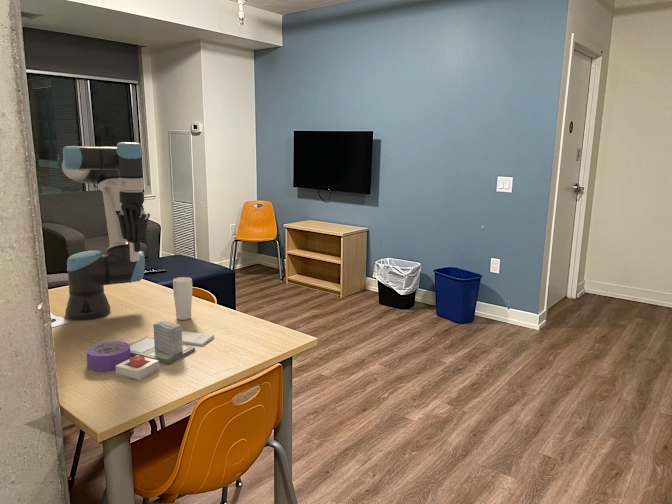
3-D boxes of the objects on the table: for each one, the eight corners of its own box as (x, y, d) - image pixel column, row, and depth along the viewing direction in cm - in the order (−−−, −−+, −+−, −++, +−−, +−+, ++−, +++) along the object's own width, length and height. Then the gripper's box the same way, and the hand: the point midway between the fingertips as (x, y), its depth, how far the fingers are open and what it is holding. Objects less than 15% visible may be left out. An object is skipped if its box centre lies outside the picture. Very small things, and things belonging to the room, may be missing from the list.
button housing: (116, 375, 142) (115, 365, 141) (137, 364, 149) (137, 355, 148) (138, 381, 139) (137, 371, 138) (158, 370, 146) (158, 360, 145)
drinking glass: (196, 315, 192) (194, 277, 189) (189, 321, 185) (187, 282, 182) (178, 314, 192) (177, 276, 189) (171, 320, 186) (169, 281, 183)
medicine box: (183, 351, 156) (182, 325, 155) (171, 356, 153) (170, 329, 151) (165, 345, 160) (164, 319, 159) (154, 350, 157) (152, 323, 155)
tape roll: (114, 352, 157) (113, 337, 156) (139, 361, 152) (138, 345, 151) (78, 365, 147) (77, 349, 146) (104, 376, 142) (102, 359, 141)
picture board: (118, 352, 157) (117, 348, 157) (146, 339, 168) (146, 336, 168) (168, 364, 149) (168, 361, 149) (195, 350, 160) (195, 347, 160)
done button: (126, 370, 143) (126, 360, 142) (137, 364, 146) (137, 355, 146) (137, 373, 141) (137, 363, 140) (148, 367, 145) (147, 357, 144)
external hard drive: (181, 334, 175) (214, 338, 172) (168, 343, 167) (202, 348, 164) (181, 330, 174) (214, 334, 171) (168, 338, 166) (202, 343, 164)
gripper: (107, 189, 164) (111, 260, 170) (137, 193, 159) (141, 265, 165) (125, 188, 171) (129, 255, 177) (155, 191, 166) (157, 261, 171)
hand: (134, 260), depth 171 cm, fingers closed
